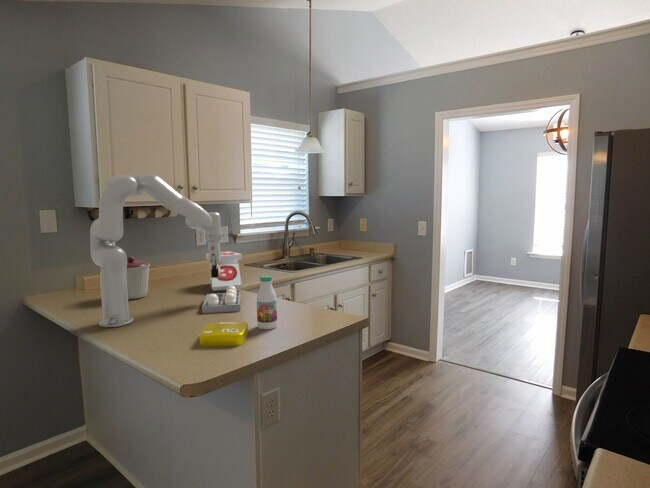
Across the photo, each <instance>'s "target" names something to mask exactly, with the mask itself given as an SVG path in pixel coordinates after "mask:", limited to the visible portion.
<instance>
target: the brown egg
mask: <svg viewBox="0 0 650 488" xmlns="http://www.w3.org/2000/svg"><path fill="white" fill-rule="evenodd" d="M217 269H218V277H214V278H219V277H221V272H220V266H219V265H218V264H217ZM210 277H211V267H210V266H209V278H210ZM211 278H212V277H211Z"/></svg>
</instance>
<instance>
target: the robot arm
mask: <svg viewBox="0 0 650 488" xmlns="http://www.w3.org/2000/svg"><path fill="white" fill-rule="evenodd" d="M142 195H148V196H150V197H151V198H152V199H154V200H155V201H156V202H157V203H159V204H160V205H162V207H164V208H165V209H167V210H168V211H169V212H173V213H175V214H178V215H181V216H183V217H185V224H186V226H187V227H188V228H190V229H193V230H203V231H204V240H205V243H207V249H208V254H209V260H208V261H209V264H210V263H211V277H212V278H214V277H218V269H217V264H218V262H219V263H220V261H221V252H222V251H221V243H220V242H222V241H223V239H222V226H221V225H222V224H221V223H222V221H221V214H220V213H219V212H216V211H215V212H214V211H211V212H207V211H206V210H205V209H204V208H203V207H201V206H200V205H198V204H197V203H195V202H193V201H192V200H190V199H189V198H187V197H186V196H184V195H182V194H181V193H179V192H178V191H176V189H175V188H173V187H172V186H171V185H169V184H168V183H167V182H166V181H164V179H162V178H161V177H160V176H158V175H156V174H142V175H141V174H140V175H128V174H127V175H125V174H123V175H121V174H120V175H115V176H111V177H110V178H109V179H108V180H107V181H106V185H105V188H104V190H103V192H101V195H100V197H99V202H98V203H99V204H98V218H96V219H95V220H94V221H93V222H92V224H91V226H90V229H89V230H90V231H89V240H90V241H89V245H90V259H91V261H92V263H94V264H95V265H96V266H97V267H100V272H99V286H100V296H101V298H100V299H101V311H102V319H101V320H99V322H98V325H99V327H100V328H101V327H102V328H117V327H122V326H126V325H129V324H131V323H133V322H134V317H133V316H130V312H129V299H128V293H127V279H126V268H127V257H128V256H127V254H126V252H125V250H124V249H123V248H122V247H120V246H118V245H116V242H118V241H120V240H121V239H122V237H123V236H124V204H125V202H126V201H127V199H128V198H130V197H135V196H142Z"/></svg>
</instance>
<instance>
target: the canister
mask: <svg viewBox="0 0 650 488" xmlns="http://www.w3.org/2000/svg"><path fill="white" fill-rule="evenodd" d="M150 266H151V263H149V262H147V261H145V260H144V261H143V260H135V257H134V256H133V255H132V256H131V255H130V256H127V268H126V279H127V293H128V300H137V299H141V298H144V297H146V295H147V294H148V291H149V276H150V275H149V274H150Z"/></svg>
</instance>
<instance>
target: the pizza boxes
mask: <svg viewBox="0 0 650 488" xmlns="http://www.w3.org/2000/svg"><path fill="white" fill-rule="evenodd" d="M220 252H221V261H220V263H219V262H218V265H219V266H220V272H221V277H219V278H211V277H210V276H209V281H210V283H209V284H210V287H211V290H212V291H227V288H228V287H229V286H234V287H235V288H236V290H239V289H241V290H242V286H243V285H242V284H243V283H242V279H241V272H240V264H239V261H241V260H242V259H243V254H242V253H238V252H233V251H220ZM205 260H207V261H209V253H206V254H205ZM210 267H211V263H210V262H209V268H210Z"/></svg>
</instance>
